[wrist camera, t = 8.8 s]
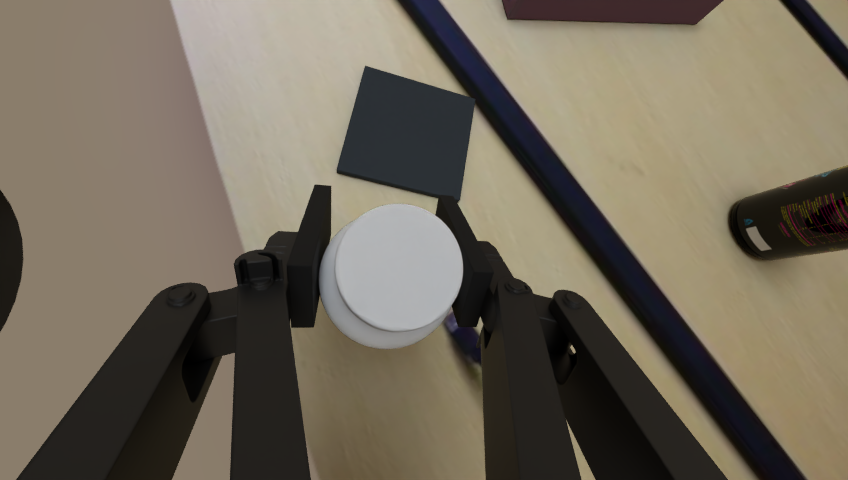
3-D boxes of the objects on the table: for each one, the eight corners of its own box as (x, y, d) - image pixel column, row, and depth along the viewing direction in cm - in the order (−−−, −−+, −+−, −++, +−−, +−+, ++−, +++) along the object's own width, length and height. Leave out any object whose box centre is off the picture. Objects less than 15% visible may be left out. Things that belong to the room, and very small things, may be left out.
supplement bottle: (437, 312, 20) (514, 307, 10) (353, 357, 18) (354, 399, 9) (398, 233, 20) (437, 159, 11) (314, 269, 19) (275, 221, 9)
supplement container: (790, 237, 34) (972, 203, 24) (760, 275, 32) (944, 255, 22) (747, 186, 34) (907, 131, 24) (715, 220, 32) (874, 176, 22)
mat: (336, 173, 25) (336, 169, 25) (364, 70, 28) (365, 65, 28) (457, 202, 27) (460, 200, 26) (473, 102, 30) (475, 98, 29)
